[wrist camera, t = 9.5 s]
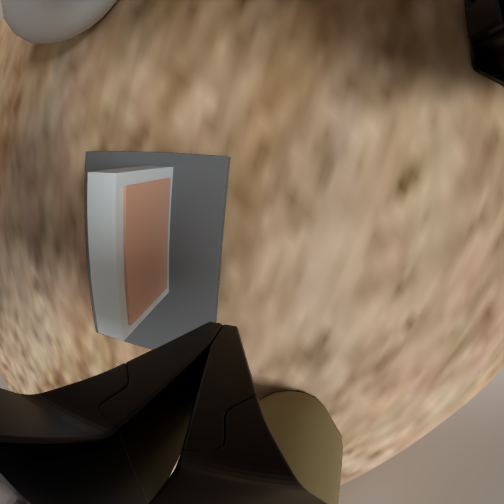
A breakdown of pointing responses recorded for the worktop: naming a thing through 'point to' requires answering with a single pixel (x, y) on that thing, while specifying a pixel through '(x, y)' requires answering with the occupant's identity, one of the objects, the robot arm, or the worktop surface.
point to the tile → (128, 244)
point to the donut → (53, 18)
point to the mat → (179, 240)
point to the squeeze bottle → (306, 441)
